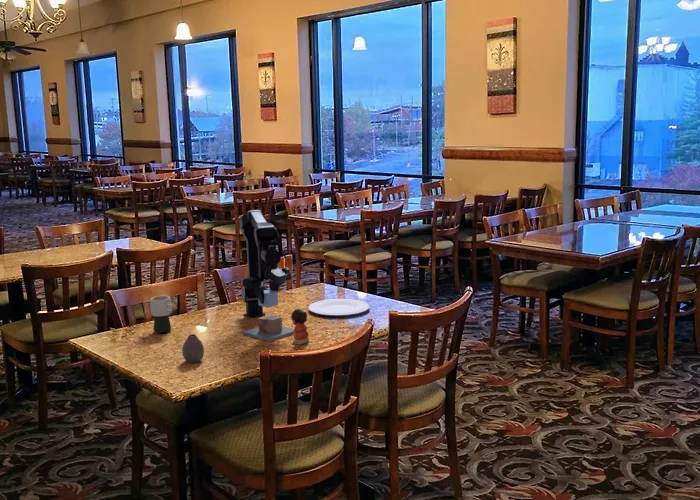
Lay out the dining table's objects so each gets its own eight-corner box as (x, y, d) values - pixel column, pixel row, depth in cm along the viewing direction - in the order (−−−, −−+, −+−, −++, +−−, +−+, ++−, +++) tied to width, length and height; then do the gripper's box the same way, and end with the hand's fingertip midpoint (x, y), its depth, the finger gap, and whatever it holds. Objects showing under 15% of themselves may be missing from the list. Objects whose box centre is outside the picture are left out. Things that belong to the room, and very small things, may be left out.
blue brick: (258, 305, 256) (257, 291, 255) (269, 302, 260) (268, 289, 259) (267, 307, 253) (267, 294, 252) (278, 304, 257) (277, 291, 256)
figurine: (312, 340, 250) (311, 307, 248) (306, 345, 245) (305, 311, 242) (295, 339, 252) (294, 306, 250) (289, 343, 247) (288, 310, 244)
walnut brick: (258, 331, 258) (258, 317, 257) (271, 327, 263) (270, 314, 262) (269, 334, 254) (269, 320, 253) (282, 330, 259) (281, 317, 258)
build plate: (243, 334, 258) (243, 331, 258) (272, 325, 268) (271, 323, 268) (268, 341, 249) (268, 339, 249) (297, 332, 259) (297, 330, 259)
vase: (184, 358, 234) (182, 332, 232) (205, 357, 234) (204, 331, 233) (181, 365, 227) (179, 339, 225) (203, 364, 227) (201, 338, 226)
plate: (380, 307, 292) (380, 303, 292) (348, 322, 272) (348, 318, 271) (330, 300, 306) (330, 296, 305) (295, 314, 285) (295, 309, 284)
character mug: (180, 331, 263) (178, 297, 261) (165, 336, 257) (163, 301, 255) (159, 327, 269) (157, 293, 266) (145, 332, 263) (142, 298, 261)
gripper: (261, 267, 241) (262, 311, 244) (301, 258, 255) (302, 300, 258) (240, 263, 249) (242, 306, 252) (280, 255, 262) (281, 295, 265)
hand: (268, 302), depth 256 cm, fingers closed on blue brick, 5 cm apart
